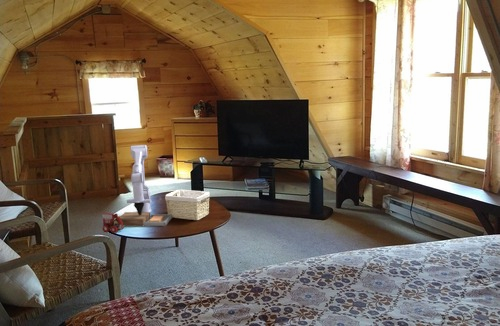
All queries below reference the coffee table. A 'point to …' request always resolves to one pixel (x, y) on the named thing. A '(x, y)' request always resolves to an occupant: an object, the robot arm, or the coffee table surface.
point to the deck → (135, 218)
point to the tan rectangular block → (156, 219)
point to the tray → (163, 223)
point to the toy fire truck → (111, 222)
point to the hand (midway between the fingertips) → (140, 214)
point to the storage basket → (188, 204)
